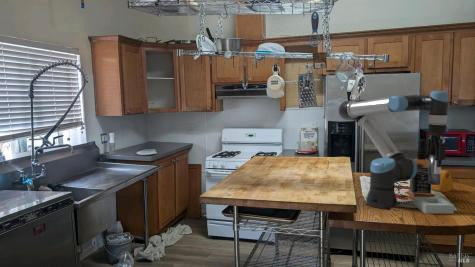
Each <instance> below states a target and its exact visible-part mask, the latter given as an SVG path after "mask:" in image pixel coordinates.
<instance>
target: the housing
mask: <svg viewBox="0 0 475 267" xmlns="http://www.w3.org/2000/svg"><path fill="white" fill-rule="evenodd" d="M412 199H413V198H412ZM412 202H413V203H412V205H413V206H414V207H416V208H417V209H419V211H421V212H422V213H424V214H427V215H428V214H440V215H441V214H443V215H444V214H446V215H447V214H455V205H454V204H453V203H452V202H449V201H447V200H446V199H445V198H443V197H441V196H432V197H414V199H413V201H412Z"/></svg>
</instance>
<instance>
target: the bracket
mask: <svg viewBox="0 0 475 267" xmlns="http://www.w3.org/2000/svg"><path fill="white" fill-rule="evenodd" d="M453 183H454V182H453V178H452V174H451V171H450V170H445V169H441V175H440V185H431V190H434V191H438V192H442V193H445V192H450V191H451V190H454V184H453Z"/></svg>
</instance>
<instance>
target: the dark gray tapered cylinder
mask: <svg viewBox="0 0 475 267" xmlns="http://www.w3.org/2000/svg"><path fill="white" fill-rule="evenodd" d="M429 158H430V160H429V159H428V161H429V177H428V184H431V185H440V175H441V174H435V173H434V170H435V159H436V153H435V154H430V157H429Z"/></svg>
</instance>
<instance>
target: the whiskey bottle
mask: <svg viewBox="0 0 475 267" xmlns="http://www.w3.org/2000/svg"><path fill="white" fill-rule="evenodd" d="M417 144H418V145H417V146H418V148H417V151H416V158H414V159H413V160H414V161H415V163H416V165H417V173H416V175H415V177H414V178H412V179H410V180H409V188H408V197H410V198H411V199H414V197H433V194H432V189H431V184H428V177H429V159H427V156H428V155H427V140H426V139H418V143H417Z"/></svg>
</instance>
